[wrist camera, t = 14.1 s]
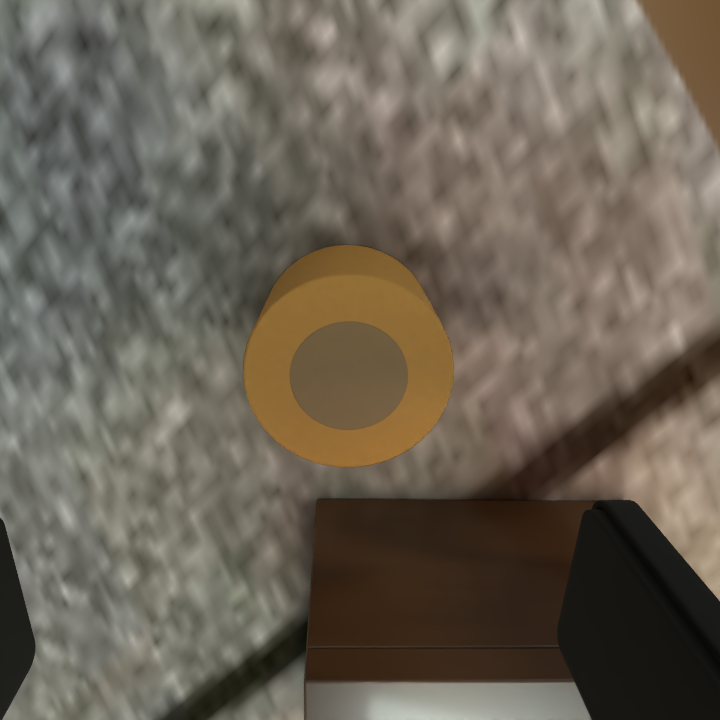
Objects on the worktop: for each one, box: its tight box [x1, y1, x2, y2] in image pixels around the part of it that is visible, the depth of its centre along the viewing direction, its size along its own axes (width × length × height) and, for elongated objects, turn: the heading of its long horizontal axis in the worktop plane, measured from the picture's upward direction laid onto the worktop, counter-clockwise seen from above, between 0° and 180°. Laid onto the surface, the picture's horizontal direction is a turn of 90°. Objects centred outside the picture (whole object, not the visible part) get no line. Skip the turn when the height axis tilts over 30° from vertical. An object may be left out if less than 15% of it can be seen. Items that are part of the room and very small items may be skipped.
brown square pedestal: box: [304, 499, 596, 720], centre depth 23 cm, size 14×12×9 cm
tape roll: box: [243, 245, 454, 467], centre depth 20 cm, size 7×7×5 cm
